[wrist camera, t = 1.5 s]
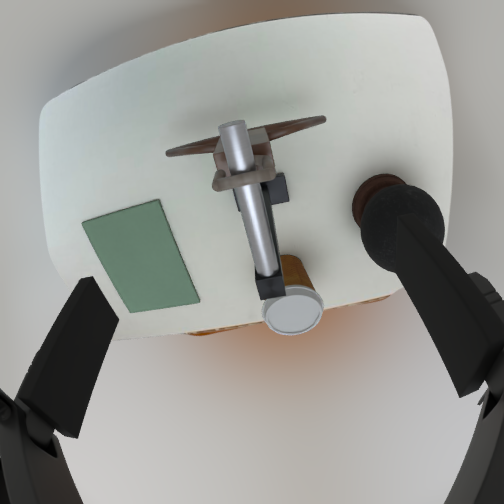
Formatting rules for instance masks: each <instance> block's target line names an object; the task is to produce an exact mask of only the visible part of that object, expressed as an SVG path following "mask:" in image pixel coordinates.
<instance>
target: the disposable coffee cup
mask: <svg viewBox="0 0 504 504" xmlns="http://www.w3.org/2000/svg"><path fill="white" fill-rule="evenodd" d="M280 259H281V265H282V271H283V277H284V284H285V290H286V296H282V297H277V298H271V299H266V300H265V302H264V304H263V307H262V316H263V319H264V321H265V322H266V323H267V325H268V326H269V328H270V329H272V330H273V331H275V332H277V333H279V334H283V335H297V334H302V333H305V332H307V331H309V330H311V329H312V328H313V327H314V326H316V325H317V324H318V322H319V321H320V319H321V315H322V312H323V308H324V305H323V300H322V298H321V297H320V295H319V294H318V293H317V292H316V291H315V289H314V287H313V285H312V282H311V281H310V278H309V277H308V274H307V272H306V270H305V268H304V266H303V264H302V262H301V261H300V260H299V259H298V258H297V257H295V256H292V255H283V256H280Z"/></svg>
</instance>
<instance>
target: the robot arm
mask: <svg viewBox="0 0 504 504" xmlns="http://www.w3.org/2000/svg"><path fill="white" fill-rule="evenodd" d="M395 273H396V274H397V276H398V278H399V279H400V281H401V283H402V285H403V286H404V288H405V290H406V291H407V293H408V295H409V297H410V298H411V300H412V302H413V304H414V306H415V307H416V309H417V311H418V313H419V315H420V317H421V318H422V320H423V322H424V324H425V326H426V328H427V330H428V332H429V334H430V336H431V338H432V340H433V342H434V343H435V346H436V348H437V350H438V352H439V354H440V356H441V358H442V360H443V362H444V364H445V366H446V368H447V370H448V373H449V375H450V377H451V379H452V382H453V384H454V386H455V388H456V391H457V393H458V395H459V398H461V397H463V396H466V395H468V394H470V393H472V392H474V391H477V390H479V388H480V386H481V385H482V383H483V382H484V380H485V381H486V383H487V385H488V389H487V390H486V392H485V393H484V395H483V396H482V397H481V399H480V400H479V403H478V405H480V404H481V403H482V402H483V405H482V409H481V412H480V415H479V419H478V422H477V425H476V428H475V431H474V434H473V437H472V440H471V443H470V446H469V449H468V451H467V454H466V456H465V459H464V461H463V464H462V466H461V468H460V471H459V473H458V475H457V478H456V480H455V482H454V484H453V486H452V489H451V491H450V493H449V495H448V497H447V499H446V501H445V503H444V504H504V300H502V297H501V296H500V295H499V293H498V292H496V290H495V288H494V287H493V286H492V284H491V283H490V282H489V281H488V279H486V278H485V277H483V276H481V275H480V274H478V273H477V272H474V273H471V274H467V273H466V272H465V270H464V269H463V268H462V267H461V266H460V264H459V263H458V262H457V261H456V259H455V258H454V257H453V256H452V255H451V254H450V253H449V251H448V250H447V249H446V248H445V247H444V245H443V244H442V243H441V242H440V241H439V240H438V239H437V237H436V236H435V235H434V234H433V233H432V232H431V231H430V230H429V229H428V228H427V227H426V225H425V224H424V223H423V222H422V221H421V220H420V219H419V218H418V217H417V216H416V215H415V214H414V213H411V214H405V215H400V216H397V242H396V261H395ZM118 322H119V318H118V317H117V315H116V314H115V312H114V311H113V309H112V307H111V306H110V304H109V303H108V301H107V299H106V298H105V296H104V294H103V293H102V291H101V289H100V288H99V286H98V284H97V283H96V281H95V279H94V277H93V276H91V277H86V278H81V279H80V280H79V282H78V284H77V285H76V287H75V288H74V290H73V292H72V293H71V295H70V297H69V298H68V300H67V302H66V303H65V305H64V307H63V308H62V310H61V312H60V313H59V315H58V317H57V319H56V321H55V322H54V324H53V326H52V328H51V330H50V331H49V333H48V335H47V337H46V339H45V341H44V342H43V344H42V346H41V348H40V350H39V351H38V352H37V353H36V355H35V357H34V359H33V361H32V365H30V367H29V369H28V373H26V375H25V378H24V380H23V382H22V384H21V386H20V388H19V391H18V393H17V395H16V397H15V399H14V401H13V400H12V399H11V398H10V397H9V396H8V395H6V394H5V393H4V392H3V391H2V390H1V389H0V504H83V502H82V499H81V497H80V495H79V493H78V491H77V488H76V486H75V484H74V481H73V479H72V476H71V474H70V471H69V468H68V466H67V463H66V460H65V458H64V455H63V452H62V449H61V446H60V443H59V440H58V438H57V437H56V436H55V435H54V434H53V432H54V429H56V430H57V431H58V432H60V433H61V434H62V435H64V436H67V437H71V438H76V439H77V438H78V436H79V433H80V429H81V426H82V423H83V419H84V416H85V413H86V410H87V407H88V403H89V400H90V397H91V394H92V391H93V389H94V385H95V383H96V380H97V377H98V374H99V371H100V369H101V366H102V363H103V360H104V358H105V355H106V352H107V350H108V347H109V344H110V342H111V339H112V337H113V334H114V332H115V329H116V327H117V324H118Z"/></svg>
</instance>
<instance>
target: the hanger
mask: <svg viewBox="0 0 504 504" xmlns="http://www.w3.org/2000/svg"><path fill="white" fill-rule="evenodd" d="M325 122H326V117H325V116H323V115H322V116H315V117H309V118H302V119H297V120H291V121H285V122H280V123H275V124H269V125H264V126H260V127H255V128H250V129H247V131H248V135H249V139H250V143H251V147H252V152H253V156H254V160H255V164H256V169H257V170H256V171H252V172H247V173H243V174H238V175H234V176H231V174H230V170H229V167H228V163H227V159H226V155H225V152H224V148H223V144H222V141H221V137H220V136H216V137H212V138H208V139H204V140H201V141H197V142H193V143H190V144H186V145H183V146H179V147H176V148H172V149H169V150H167V151H166V156H167V157H174V156H183V155H192V154H202V153H213V152H214V153H213V157H214V160H215V164H216V167H217V171H216V173H215V176H214V179H213V183H212V188H213V190H215V191H217V192H219V191H224V190H228V189H232V188H237V187H241V186H246V185H251V184H255V183H260V182H265V181H270V180H273V179H274V178H275V177H276V170H275V164H274V159H273V155H272V150H271V145H270V141H271V140H274V139H277V138H280V137H283V136H285V135H288V134H291V133H294V132H297V131H300V130H303V129H306V128H309V127H312V126H316V125H319V124H322V123H325Z"/></svg>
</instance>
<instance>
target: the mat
mask: <svg viewBox="0 0 504 504" xmlns="http://www.w3.org/2000/svg"><path fill="white" fill-rule="evenodd" d="M82 226H83V228H84V230H85V232H86V234H87V236H88V238H89V240H90V242H91V244H92V246H93V248H94V250H95V252H96V254H97V256H98V258H99V260H100V261H101V263H102V265H103V267H104V269H105V271H106V273H107V274H108V276H109V278H110V280H111V281H112V283H113V285H114V287H115V288H116V290H117V292H118V294H119V295H120V297H121V299H122V300H123V302H124V304H125V305H126V307H127V309H128V310H129V312H130V313H135V312H142V311H149V310H156V309H163V308H169V307H176V306H182V305H189V304H195V303H200V299H199V297H198V294H197V292H196V290H195V288H194V285H193V283H192V281H191V278H190V276H189V274H188V271H187V269H186V266H185V264H184V262H183V259H182V257H181V254H180V252H179V249H178V247H177V244H176V242H175V240H174V237H173V235H172V232H171V229H170V227H169V224H168V222H167V219H166V217H165V214H164V211H163V209H162V206H161V204H160V201H159V200H155V201H152V202H148V203H144V204H141V205H137V206H134V207H131V208H127V209H124V210H120V211H117V212H114V213H110V214H107V215H104V216H101V217H98V218H94V219H91V220H88V221H85V222H83V223H82Z"/></svg>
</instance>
